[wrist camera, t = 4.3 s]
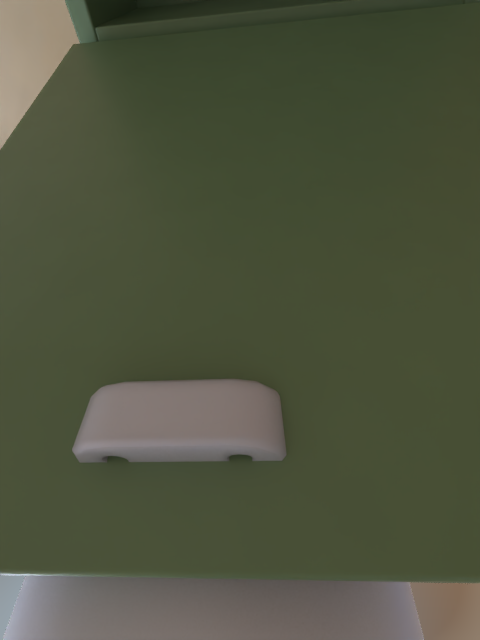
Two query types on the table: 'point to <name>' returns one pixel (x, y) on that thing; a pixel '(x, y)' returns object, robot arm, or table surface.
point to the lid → (251, 298)
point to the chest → (215, 14)
